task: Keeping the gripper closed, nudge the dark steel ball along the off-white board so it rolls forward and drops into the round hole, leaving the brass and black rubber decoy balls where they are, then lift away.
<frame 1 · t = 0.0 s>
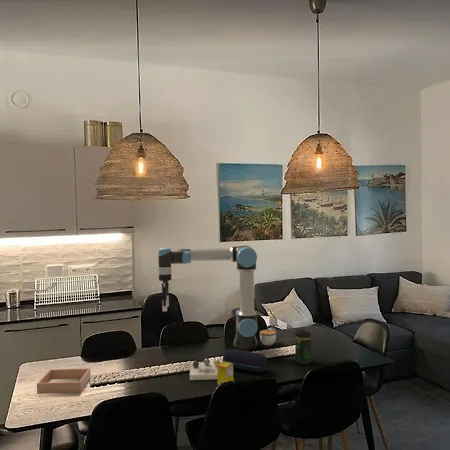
hand: (165, 308, 288), 28 cm above the table, fingers open, 13 cm apart
supplement box: (225, 386, 238), on the table
rubber decoy: (195, 364, 258), point 4 cm above the table, touching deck
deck: (207, 373, 256), on the table
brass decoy: (216, 362, 260), point 4 cm above the table, touching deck
portable speaker: (245, 369, 262), on the table
lidded jar: (268, 344, 309), on the table
coffee jar: (303, 362, 272), on the table
brown square tray: (65, 385, 241), on the table
ball: (206, 362, 262), point 4 cm above the table, touching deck
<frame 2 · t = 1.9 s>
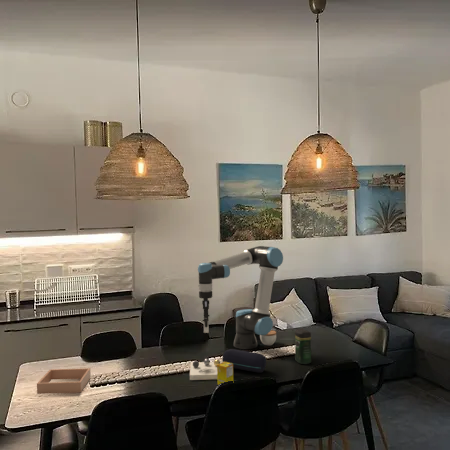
hand: (206, 330, 270), 19 cm above the table, fingers open, 9 cm apart
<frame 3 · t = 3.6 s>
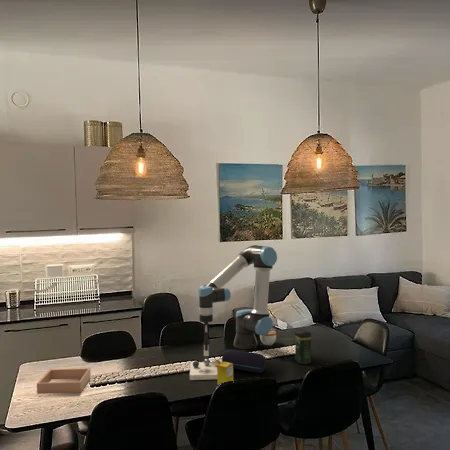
hand: (206, 355, 270), 5 cm above the table, fingers closed
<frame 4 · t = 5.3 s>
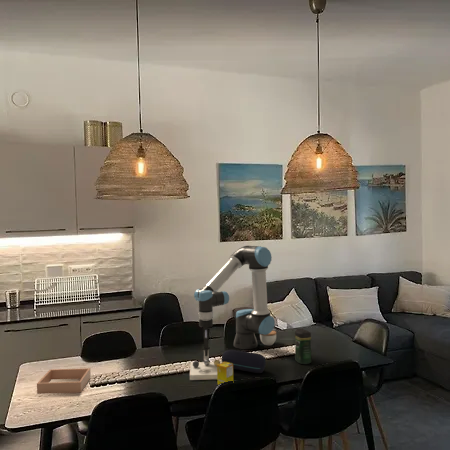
hand: (206, 361, 264), 4 cm above the table, fingers closed
ball: (206, 362, 261), point 4 cm above the table, tilted 6°, touching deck
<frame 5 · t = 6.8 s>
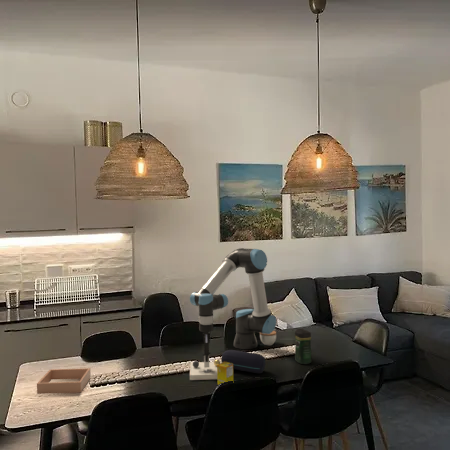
hand: (206, 366, 255), 4 cm above the table, fingers closed
ball: (207, 372, 252), point 2 cm above the table, tilted 23°
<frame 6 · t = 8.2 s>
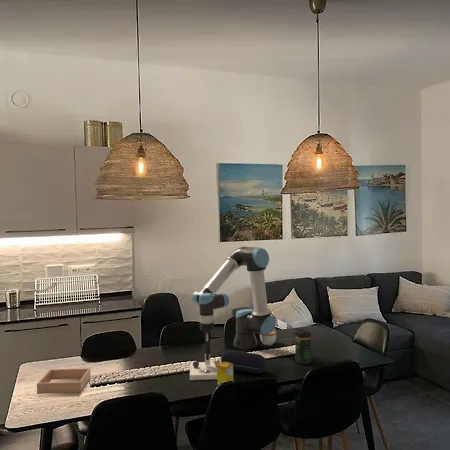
hand: (207, 364, 260), 3 cm above the table, fingers closed
ball: (206, 373, 251), point 2 cm above the table, tilted 14°
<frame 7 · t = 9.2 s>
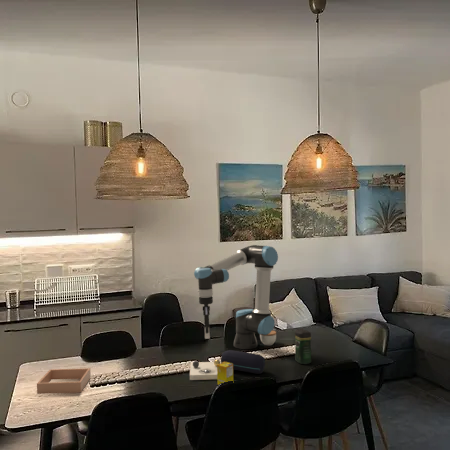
hand: (207, 338, 265), 16 cm above the table, fingers closed
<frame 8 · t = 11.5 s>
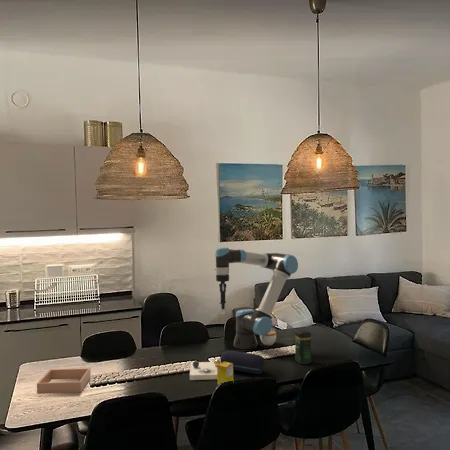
hand: (223, 314, 278), 26 cm above the table, fingers closed
ball: (206, 372, 252), point 2 cm above the table
at the end: ball 0.1 cm from the target spot in the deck, point 1.7 cm above the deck's base; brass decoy moved 0.0 cm from its start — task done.
